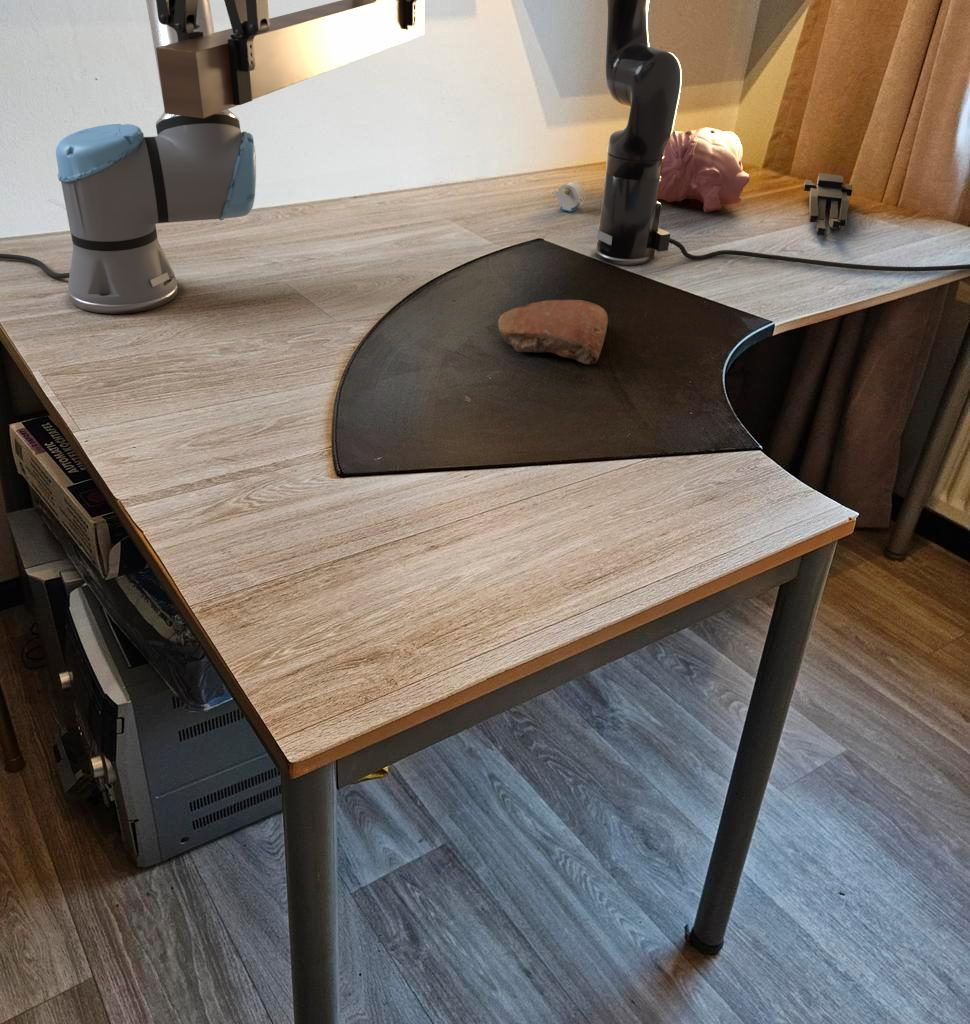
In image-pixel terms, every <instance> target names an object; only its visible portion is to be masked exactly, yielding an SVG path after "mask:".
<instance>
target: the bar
mask: <svg viewBox="0 0 970 1024" xmlns="http://www.w3.org/2000/svg"><path fill="white" fill-rule="evenodd" d="M403 2H405V0H337V1H334V2H329V3H325V4H321V5H318V6H314V7H310V8H306V9H301V10H299V11H295V12H290V13H287V14H281V15H279V16H275V17H269V30H268V31H266V32H263V33H260V34H257V35H256V36H255V37H254V53H255V69H254V70H252V71H250V80H251V92H252V101H254V100H256V99H258V98H261V97H263V96H267V95H268V94H271V93H274V92H276V91H279V90H282V89H284V88H287V87H290V86H293V85H296V84H298V83H300V82H304V81H305V80H308V79H311V78H314V77H317V76H318V75H321V74H324V73H327V72H329V71H332V70H334V69H335V70H336V69H338V68H340V67H343V66H346V65H348V64H350V63H353V62H355V61H359V60H361V59H364V58H366V57H369V56H371V55H374V54H376V53H380V52H383V51H385V50H387V49H390V48H393V47H395V46H398V45H401V44H403V43H406V42H409V41H412V40H414V39H417V38H419V37H421V36H424V35H425V23H426V22H425V21H426V20H425V19H426V16H425V15H426V14H425V13H426V11H425V9H426V6H425V4H426V3H425V2H426V0H417V2H416V24H415V25H413V28H412V29H410V30H404V28H403ZM233 34H234V33H233V30H232V27H231V28H228V29H227V28H226V29H224V30H223V29H222V30H220V31H214V33H212V34H208V35H204V36H200V37H196V38H192V39H188V40H184V41H180V42H176V43H172V44H168V45H165V46H161V47H157V48H156V52H157V59H158V67H159V74H160V80H159V82H160V81H161V86H160V89H161V88H162V92H161V96H162V95H163V98H162V103H163V102H164V104H163V108H164V109H165V113H166V114H174V115H181V116H189V117H197V118H206V117H208V116H211V115H214V114H216V113H219V112H221V111H224V110H227V109H228V110H230V109H232V108H234V107H238V105H234V101H233V91H232V80H231V70H230V59H229V49H228V39H231V36H230V35H233ZM159 74H158V75H159Z"/></svg>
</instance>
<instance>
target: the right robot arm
mask: <svg viewBox="0 0 970 1024" xmlns="http://www.w3.org/2000/svg"><path fill="white" fill-rule="evenodd" d="M416 2H417V0H405V2H403V28H404V30H410V29H412V28H413V25H415V24H416ZM649 4H650V0H606V5H607V9H606V10H607V25H606V48H605V49H606V51H605V84H606V89H607V91H608V93H609V96H610V97H611V99H612V100H613V101H614V102H616V103H617V104H619V105H620V106H624V107H626V108H628V109H629V114H628V119H627V123H626V127H624V129H621V130H616V131H614V132H612V133H611V134H610V136H609V139H608V145H607V154H606V162H605V170H604V179H603V188H602V189H603V191H602V196H601V197H602V198H601V199H602V200H601V206H600V216H599V225H598V229H597V232H596V233H597V234H596V239H597V241H596V247H595V255H596V257H598V259H600V260H602V261H604V262H607V263H611V264H614V265H622V266H632V265H633V266H635V265H642V264H645V263H648V261H650V260H655V255H656V254H655V253H656V251H657V252H667V251H669V247H670V244H671V245H674V246H675V247H677V248H678V249H679V250H680V252H681V254H682V255H683V257H685V258H686V259H689V260H691V261H698V260H699V261H700V260H706V259H710V258H714V257H718V256H740V257H748V258H749V257H750V258H756V259H763V260H764V259H765V260H773V261H782V262H790V263H796V264H797V263H798V264H804V265H805V264H806V265H813V266H822V267H830V268H831V267H832V268H840V269H848V270H849V269H850V270H851V269H852V270H862V271H863V270H864V271H878V272H912V273H913V272H943V271H944V272H945V271H959V270H970V263H967V264H952V265H930V266H894V265H893V266H890V265H871V264H859V263H847V262H837V261H827V260H819V259H810V258H803V257H794V256H786V255H780V254H779V255H777V254H772V253H771V254H770V253H762V252H753V251H746V250H737V249H736V250H734V249H732V250H731V249H721V250H714V251H712V252H711V251H710V252H709V253H705V254H701V255H694V254H692V253H689V252H688V251H687V249H686V247H685V246H684V245H683V243H681V242H680V241H678V240H676V239H674V238H671V236H672V235H671V233H669V232H668V231H666V230H664V229H662V228H661V227H660V220H661V213H662V208H663V207H662V203H661V202H659V201H658V199H659V198H658V193H659V186H660V179H661V171H662V164H663V157H664V151H665V147H666V145H667V143H668V141H669V139H670V137H671V134H672V132H673V131H674V126H675V120H676V116H677V111H678V110H677V109H678V105H679V100H680V95H681V94H680V93H681V88H682V67H681V64H680V61H679V59H678V58H677V57H676V56H675V54H673V53H672V52H670V51H668V50H664V49H660V48H657V47H652V46H650V42H649V40H650V39H649V30H648V29H649V27H648V26H649V25H648V23H649V22H648V21H649V20H648V18H649V17H648V13H649V6H650V5H649Z"/></svg>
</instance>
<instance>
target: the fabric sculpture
mask: <svg viewBox="0 0 970 1024" xmlns="http://www.w3.org/2000/svg"><path fill="white" fill-rule="evenodd" d="M742 159H743V145H742V144H741V141H740V138H739V137H738V135H736V133H734V132H732V131H722V130H720V129H716V128H713V127H700V128H698V129H693V130H688V131H680V130H679V131H678V130H676V131H674V130H673V131H672V134H671V137H670V139H669V141H668V143H667V145H666V147H665V151H664V157H663V164H662V171H661V179H660V186H659V193H658V199H659V200H663V201H665V202H667V203H671V202H678V203H679V202H682V201H684V200H685V199H688V200H697V201H698V202H700V203H701V204H703V207H702V209H703V212H704V213H709V212H712V211H713V212H714V211H719V210H721V207H724V206H732V205H736V204H739V203H740V202H741V201H742V197H741V196H742V195H741V194H742V192H743V191H744V189H745V187H746V186H747V185H748V184H749V183H750V174H749V173H747V172H745V171H744V170H743V163H742Z"/></svg>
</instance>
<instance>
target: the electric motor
mask: <svg viewBox="0 0 970 1024" xmlns="http://www.w3.org/2000/svg"><path fill="white" fill-rule="evenodd" d="M554 194H555V195H554ZM551 196H552V198H556V199H557V200H556V201H557V202H558V204H559V206H560V211H564V212H569V213H572V212H574V211H576V210H578V209H579V207H580V205H582V203H584V201H585V199H586V190H585V188H584V186H583V185H582V184H581V183H580V182H579V181H570V182H568V183H566V184H563V185H562V186H560V187H559V188H558V190H557V191H556V190H553V191H552V192H551Z"/></svg>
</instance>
